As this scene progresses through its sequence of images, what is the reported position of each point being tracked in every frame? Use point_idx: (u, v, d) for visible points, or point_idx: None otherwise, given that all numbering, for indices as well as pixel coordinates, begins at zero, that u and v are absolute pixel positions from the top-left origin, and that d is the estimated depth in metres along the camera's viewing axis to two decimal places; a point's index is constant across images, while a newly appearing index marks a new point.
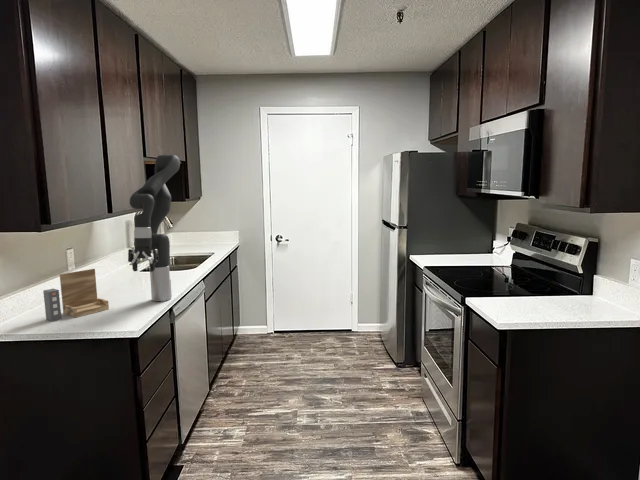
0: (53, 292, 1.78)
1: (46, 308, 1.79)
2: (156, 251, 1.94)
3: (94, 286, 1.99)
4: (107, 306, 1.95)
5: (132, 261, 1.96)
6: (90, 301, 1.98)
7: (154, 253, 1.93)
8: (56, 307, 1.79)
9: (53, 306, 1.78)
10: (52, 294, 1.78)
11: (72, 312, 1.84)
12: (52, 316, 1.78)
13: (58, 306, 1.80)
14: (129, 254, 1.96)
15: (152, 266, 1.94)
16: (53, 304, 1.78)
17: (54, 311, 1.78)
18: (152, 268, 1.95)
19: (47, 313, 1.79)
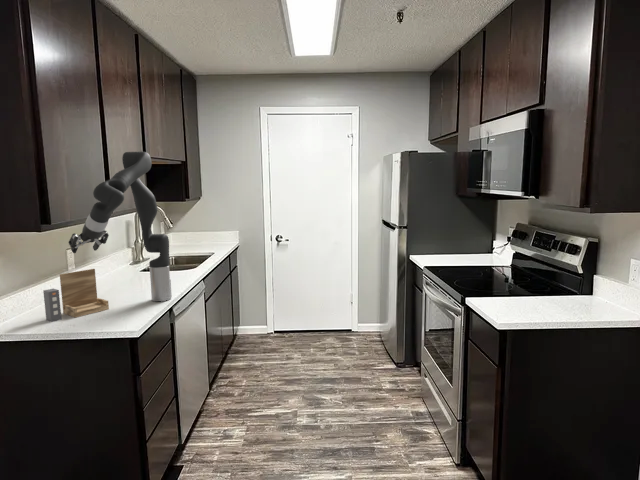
0: (53, 292, 1.78)
1: (46, 308, 1.79)
2: None
3: (94, 286, 1.99)
4: (107, 306, 1.95)
5: (76, 246, 1.70)
6: (90, 301, 1.98)
7: (106, 237, 1.77)
8: (56, 307, 1.79)
9: (53, 306, 1.78)
10: (52, 294, 1.78)
11: (72, 312, 1.84)
12: (52, 316, 1.78)
13: (58, 306, 1.80)
14: (74, 241, 1.67)
15: (98, 246, 1.79)
16: (53, 304, 1.78)
17: (54, 311, 1.78)
18: (97, 247, 1.80)
19: (47, 313, 1.79)
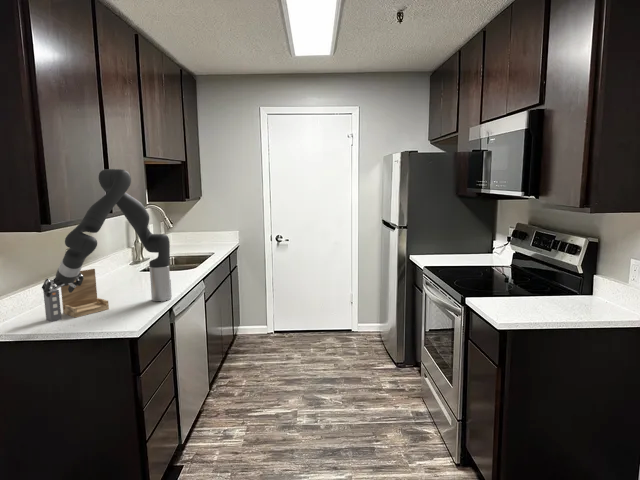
0: (53, 292, 1.78)
1: (46, 308, 1.79)
2: None
3: (94, 286, 1.99)
4: (107, 306, 1.95)
5: (49, 291, 1.68)
6: (90, 301, 1.98)
7: (81, 280, 1.75)
8: (56, 307, 1.79)
9: (53, 306, 1.78)
10: (52, 294, 1.78)
11: (72, 312, 1.84)
12: (52, 316, 1.78)
13: (58, 306, 1.80)
14: (48, 287, 1.66)
15: (73, 288, 1.78)
16: (53, 304, 1.78)
17: (54, 311, 1.78)
18: (73, 289, 1.78)
19: (47, 313, 1.79)
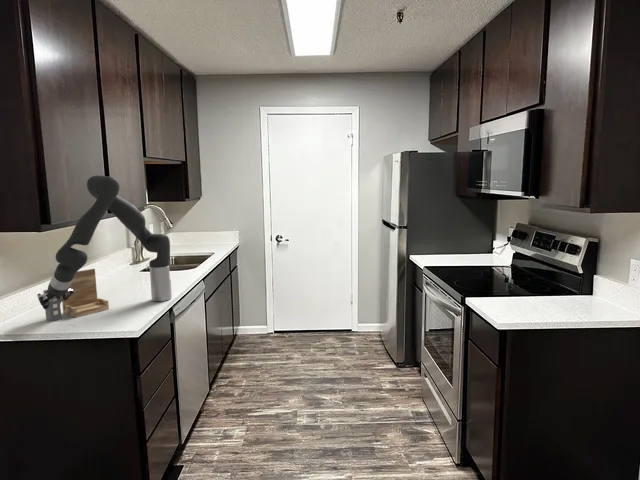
0: None
1: None
2: None
3: (94, 286, 1.99)
4: (107, 306, 1.95)
5: (46, 304, 1.76)
6: (90, 301, 1.98)
7: (70, 294, 1.81)
8: (56, 307, 1.79)
9: (53, 306, 1.78)
10: None
11: (72, 312, 1.84)
12: (52, 316, 1.78)
13: (58, 306, 1.80)
14: (41, 301, 1.73)
15: (60, 302, 1.82)
16: (53, 304, 1.78)
17: (54, 311, 1.78)
18: None
19: (47, 313, 1.79)
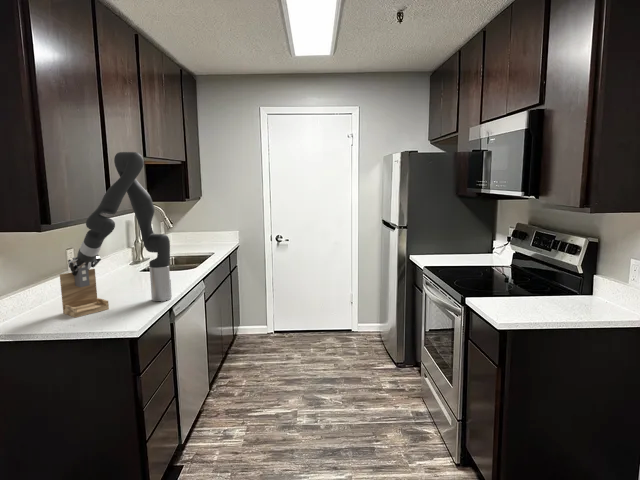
0: None
1: None
2: None
3: (94, 286, 1.99)
4: (107, 306, 1.95)
5: (76, 270, 1.87)
6: (90, 301, 1.98)
7: (97, 261, 1.92)
8: (84, 273, 1.89)
9: (82, 272, 1.88)
10: None
11: (72, 312, 1.84)
12: (81, 282, 1.88)
13: (86, 272, 1.90)
14: (72, 266, 1.83)
15: (88, 269, 1.93)
16: (82, 271, 1.88)
17: (83, 277, 1.89)
18: None
19: (76, 279, 1.90)
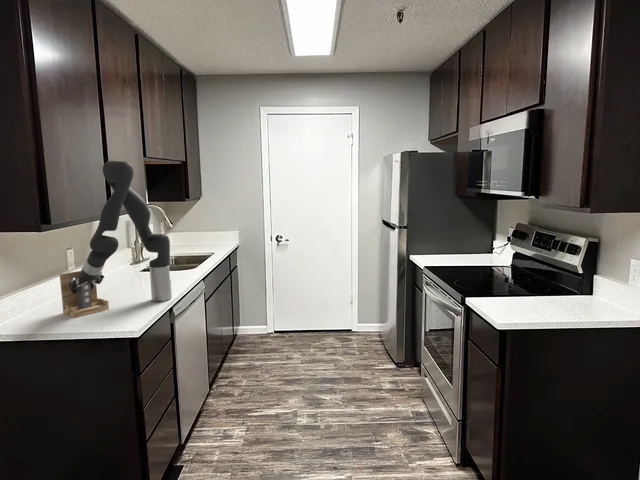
0: None
1: (78, 296, 1.91)
2: None
3: None
4: (107, 306, 1.95)
5: (75, 288, 1.86)
6: None
7: (102, 278, 1.93)
8: (87, 295, 1.91)
9: (84, 293, 1.90)
10: None
11: (72, 312, 1.84)
12: (84, 304, 1.90)
13: (89, 294, 1.91)
14: (73, 284, 1.83)
15: (94, 286, 1.95)
16: (85, 292, 1.90)
17: (86, 299, 1.90)
18: (93, 287, 1.95)
19: (79, 300, 1.91)
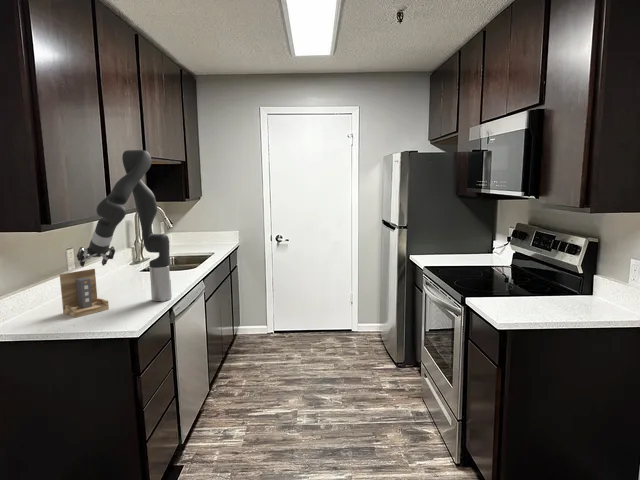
0: (85, 280, 1.89)
1: (78, 296, 1.91)
2: None
3: (94, 286, 1.99)
4: (107, 306, 1.95)
5: (83, 260, 1.79)
6: None
7: (113, 253, 1.85)
8: (87, 295, 1.91)
9: (84, 293, 1.90)
10: (84, 282, 1.89)
11: (72, 312, 1.84)
12: (84, 304, 1.90)
13: (89, 294, 1.91)
14: (81, 255, 1.77)
15: (106, 261, 1.88)
16: (85, 292, 1.90)
17: (86, 299, 1.90)
18: (105, 263, 1.88)
19: (79, 300, 1.91)
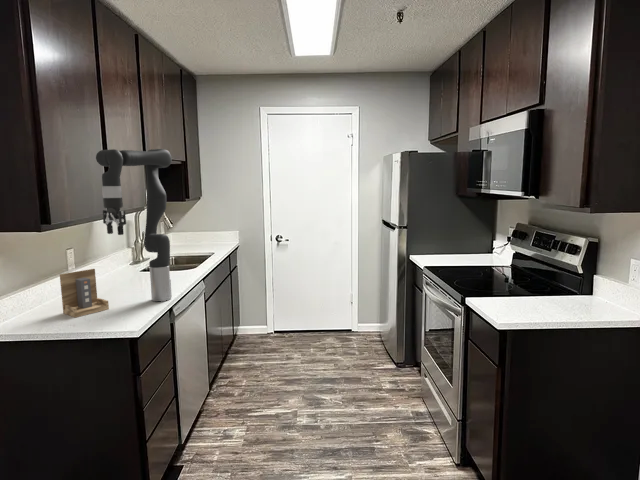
0: (85, 280, 1.89)
1: (78, 296, 1.91)
2: (122, 212, 1.77)
3: (94, 286, 1.99)
4: (107, 306, 1.95)
5: (106, 223, 1.83)
6: None
7: (119, 215, 1.76)
8: (87, 295, 1.91)
9: (84, 293, 1.90)
10: (84, 282, 1.89)
11: (72, 312, 1.84)
12: (84, 304, 1.90)
13: (89, 294, 1.91)
14: (103, 215, 1.84)
15: (119, 229, 1.78)
16: (85, 292, 1.90)
17: (86, 299, 1.90)
18: (119, 231, 1.78)
19: (79, 300, 1.91)
